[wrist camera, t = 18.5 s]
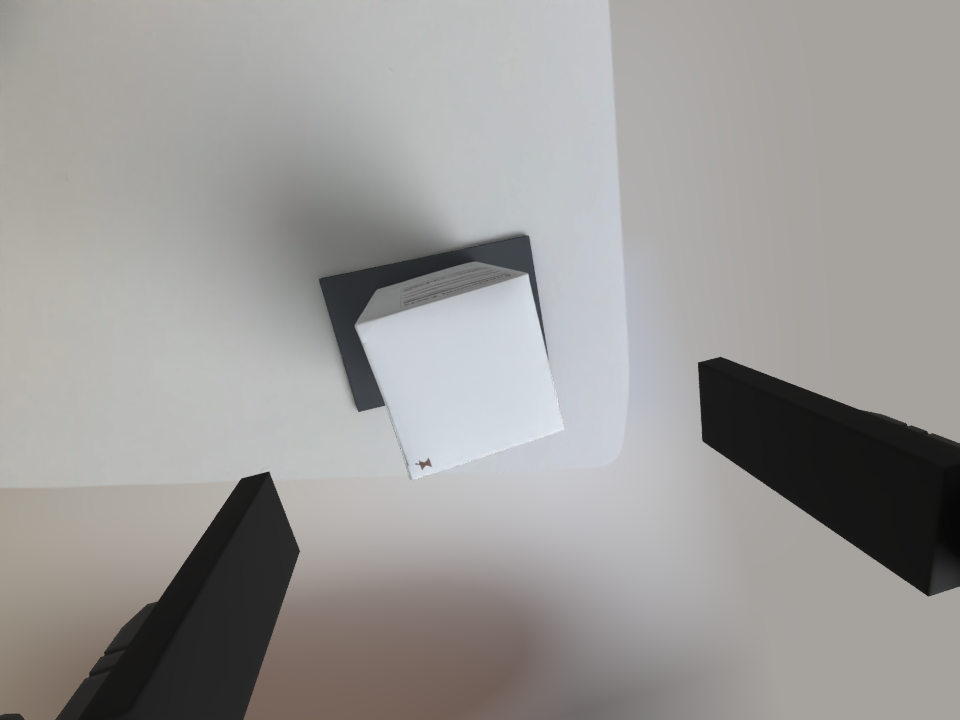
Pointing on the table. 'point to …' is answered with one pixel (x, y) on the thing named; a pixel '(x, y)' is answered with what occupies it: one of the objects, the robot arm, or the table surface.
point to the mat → (358, 287)
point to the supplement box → (460, 365)
